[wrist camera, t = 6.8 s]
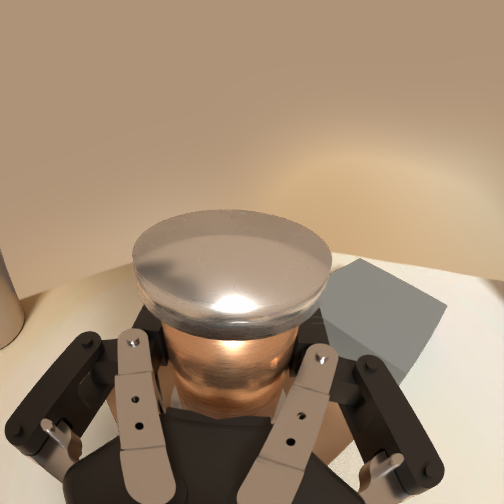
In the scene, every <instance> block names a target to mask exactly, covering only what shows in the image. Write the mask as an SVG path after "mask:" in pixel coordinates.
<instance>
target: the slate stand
mask: <svg viewBox="0 0 504 504" xmlns="http://www.w3.org/2000/svg"><path fill="white" fill-rule="evenodd" d="M319 308H320V310H321V314H322V318H323V321H324V325H325V328H326V332H327V336H328V340H329V344H330V346H331V347H333V348H334V349H335V350H336V352H337V353H338V355H339V356H340V357H343V358H346V359H350V360H355V361H357V360H358V358H359V357H361V356H363V355H374V356H377V357H379V358H380V359H381V360H382V361H383V362H384V363H385V365H386V367H387V368H388V370H389V371H390V373H391V375H392V376H393V378H394V379H395V381H396V383H397V384H398V386H399V385H400V383H401V382H402V381H403V379H404V378H405V376H406V375H407V373H408V372H409V371H410V369H411V368H412V366H413V365H414V363H415V362H416V360H417V358H418V357H419V355H420V354H421V352H422V351H423V349H424V347H425V346H426V344H427V342H428V341H429V339H430V337H431V336H432V334H433V332H434V330H435V328H436V327H437V325H438V323H439V321H440V319H441V317H442V315H443V313H444V312H445V310H446V308H447V305H446V304H444V303H442V302H440V301H439V300H437V299H435V298H433V297H432V296H430V295H428V294H426V293H424V292H423V291H421V290H419V289H417V288H415V287H414V286H412V285H410V284H408V283H406V282H404V281H403V280H401V279H399V278H397V277H395V276H393V275H391V274H389V273H388V272H386V271H384V270H382V269H380V268H378V267H376V266H374V265H372V264H370V263H368V262H367V261H365V260H363V259H361V258H359V259H357V260H356V261H354V262H352V263H350V264H348V265H346V266H345V267H343V268H341V269H339V270H337V271H335V272H333V273H331V274H330V275H329V278H328V282H327V286H326V290H325V294H324V298H323V300H322V303H321V305H320V306H319Z"/></svg>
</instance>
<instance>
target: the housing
mask: <svg viewBox="0 0 504 504" xmlns="http://www.w3.org/2000/svg"><path fill="white" fill-rule="evenodd" d="M132 256H133V263H134V269H135V274H136V280H137V285H138V290H139V295H140V297H141V299H142V301H143V303H144V305H145V306H146V307H147V309H148V310H149V311H150V312H151V313H152V314H153V315H154V316H155V317H156V318H158V319H159V320H161V322H162V328H163V333H164V338H165V343H166V347H167V352H168V356H169V361H170V365H171V369H172V374H173V378H174V382H175V387H174V389H173V392H172V396H171V407H172V408H178V409H184V410H191V411H194V412H197V413H200V414H203V415H205V416H208V417H211V418H214V419H226V418H233V417H240V416H262V417H271V423H272V424H275V421H276V419H277V417H278V415H279V413H280V411H281V409H282V406H283V404H284V402H285V400H286V394H285V392H284V389H283V386H284V382H285V378H286V375H287V371H288V367H289V364H290V360H291V356H292V352H293V348H294V344H295V340H296V336H297V332H298V328H299V325H301V324H302V323H303V322H305V321H306V320H308V319H309V318H310V317H311V316H312V315H313V314H314V313H315V312H316V311H317V309H318V308H319V306H320V305H321V303H322V300H323V298H324V294H325V290H326V286H327V282H328V278H329V274H330V270H331V265H332V256H331V252H330V250H329V247H328V246H327V245H326V243H325V242H324V241H323V240H322V239H321V238H320V237H319V236H318V235H317V234H315V233H314V232H313V231H311V230H309V229H308V228H306V227H304V226H302V225H300V224H298V223H295V222H293V221H291V220H287V219H285V218H281V217H278V216H274V215H270V214H265V213H259V212H253V211H244V210H207V211H199V212H192V213H187V214H183V215H179V216H175V217H172V218H169V219H167V220H164V221H162V222H160V223H158V224H156V225H154V226H152V227H151V228H149V229H148V230H146V231H145V232H144V233H143V234H142V235H141V236H140V237H139V238H138V240H137V241H136V243H135V245H134V248H133V255H132Z"/></svg>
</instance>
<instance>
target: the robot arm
mask: <svg viewBox="0 0 504 504" xmlns="http://www.w3.org/2000/svg"><path fill="white" fill-rule="evenodd" d="M23 323H24V311H23V308H22V306H21V304H20V301H19V299H18V297H17V294H16V292H15V289H14V287H13V284H12V282H11V279H10V276H9V273H8V271H7V268H6V265H5V262H4V259H3V256H2V252H1V249H0V349H1V348H3V347H5V346H6V345H7V344H9V343H10V342H11V341H12V340H13V339H14V338H15V337H16V336H17V334H18V333H19V331H20V330H21V328H22V326H23ZM168 362H169V356H168V352H167V347H166V343H165V338H164V333H163V328H162V322H161V320H159V319H158V318H156V317H155V316H154V315H153V314H152V313H151V312H150V311H149V310H148V309H147V307H146V306H145V305H143V307H142V310H141V311H140V313H139V315H138V317H137V319H136V321H135V323H134V325H133V327H132V329H128V330H126V331H124V332H122V333H121V334H120V335H119V337H118V339H112V340H101V337H100V336H99V334H97V333H96V332H92V331H88V332H84V333H81V334H80V335H78V336H77V337H76V338H75V339H74V341H73V342H72V343H71V344H70V345H69V346H68V347H67V348H66V349H65V351H64V352H63V353H62V354H61V355H60V356H59V357H58V359H57V360H56V361H55V362H54V363H53V364H52V366H51V367H50V368H49V369H48V370H47V371H46V373H45V374H44V375H43V376H42V377H41V379H40V380H39V381H38V382H37V383H36V385H35V386H34V387H33V388H32V390H31V391H30V392H29V393H28V395H27V396H26V397H25V398H24V400H23V401H22V402H21V404H20V405H19V406H18V407H17V409H16V410H15V411H14V413H13V414H12V415H11V417H10V418H9V419H8V421H7V422H6V425H5V436H6V438H7V440H8V441H9V442H10V443H11V444H12V445H13V446H15V447H16V448H17V449H18V450H20V452H21V453H22V454H24V455H25V456H26V457H28V458H29V459H31V460H32V461H33V462H35V463H36V464H38V465H40V466H42V467H43V468H44V469H45V470H46V471H47V472H49V473H50V474H51V475H52V476H54V477H55V478H56V479H58V480H59V481H60V482H61V483H63V493H64V497H65V500H66V504H398V503H401V502H403V501H405V500H408V499H410V498H412V497H414V496H417V495H419V494H421V493H423V492H425V491H427V490H429V489H431V488H433V487H435V486H436V485H438V484H439V483H440V482H441V480H442V479H443V476H444V471H445V470H444V465H443V463H442V461H441V459H440V457H439V455H438V453H437V451H436V450H435V448H434V446H433V444H432V442H431V440H430V439H429V437H428V435H427V433H426V432H425V430H424V428H423V426H422V424H421V423H420V421H419V419H418V418H417V416H416V414H415V412H414V411H413V409H412V407H411V406H410V404H409V402H408V401H407V399H406V397H405V396H404V394H403V392H402V391H401V389H400V387H399V386H398V384H397V383H396V381H395V379H394V378H393V376H392V375H391V373H390V371H389V370H388V368H387V367H386V365H385V363H384V362H383V361H382V360H381V359H380V358H379V357H377V356H374V355H363V356H361V357H359V358H358V360H357V361H355V360H350V359H346V358H343V357H340V356H339V355H338V353H337V352H336V350H335V349H334V348H333V347H331V346H330V344H329V340H328V336H327V332H326V328H325V325H324V321H323V318H322V314H321V310H320V308H318V309H317V311H316V312H315V313H314V314H313V315H312V316H311V317H310V318H309V319H308V320H306V321H305V322H303V323H302V324H301V325H299V328H298V332H297V336H296V340H295V344H294V348H293V352H292V356H291V360H290V364H289V377H296V379H295V381H294V383H293V384H292V386H291V388H290V391H289V393H288V395H287V397H286V400H285V402H284V404H283V406H282V409H281V411H280V413H279V415H278V417H277V419H276V421H275V424H272V423H271V417H262V416H240V417H233V418H226V419H214V418H211V417H208V416H205V415H203V414H200V413H197V412H194V411H191V410H184V409H178V408H172V407H167V409H165V405H164V400H163V395H162V390H161V385H160V380H159V375H158V370H159V367H160V366H166V367H167V365H168ZM85 376H86V377H85ZM82 380H83V381H82ZM79 384H80V385H79ZM114 386H115V394H116V407H117V418H118V427H119V436H117V437H116V438H114V439H113V440H111V441H110V442H108V443H107V444H105V445H103V446H102V447H100V448H99V449H97V450H96V451H94V452H92V453H91V454H89V455H88V456H86V457H84V458H83V459H81V460H79V457H80V456H81V455H82V451H81V450H82V442H81V440H80V438H81V436H82V435H83V433H84V432H85V430H86V429H87V427H88V426H89V424H90V423H91V421H92V419H93V418H94V416H95V415H96V413H97V412H98V410H99V409H100V407H101V406H102V404H103V403H104V401H105V400H106V398H107V397H108V395H109V394H110V392H111V391H112V389H113V388H114ZM328 401H331V402H335V403H338V405H339V407H340V409H341V411H342V414H343V416H344V418H345V420H346V423H347V425H348V427H349V430H350V432H351V434H352V436H353V439H354V441H355V443H356V445H357V448H358V450H359V452H360V455H361V457H362V459H363V462H364V465H363V466H362V468H361V469H360V472H359V481H360V488H359V491H358V492H356V491H355V490H354V489H352V488H351V487H350V486H349V485H348V484H347V483H346V482H344V481H343V480H342V479H341V478H340V477H339V476H338V475H337V474H335V473H334V472H333V471H332V470H331V469H330V468H329V467H328V466H327V465H326V464H325V463H324V462H323V461H321V460H320V459H319V458H318V457H317V456H316V455H315V454H314V453H313V452H312V449H313V446H314V444H315V441H316V438H317V435H318V432H319V429H320V426H321V423H322V420H323V417H324V414H325V411H326V408H327V404H328Z"/></svg>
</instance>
